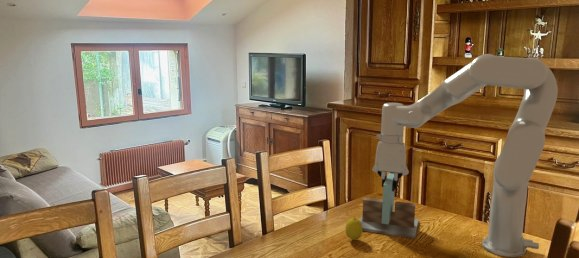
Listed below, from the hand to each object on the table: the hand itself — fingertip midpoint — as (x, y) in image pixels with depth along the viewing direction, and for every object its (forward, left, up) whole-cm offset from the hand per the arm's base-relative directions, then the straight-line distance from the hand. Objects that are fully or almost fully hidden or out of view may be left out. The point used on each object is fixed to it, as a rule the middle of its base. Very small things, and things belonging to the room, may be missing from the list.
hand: (389, 189), depth 152 cm
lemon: (+9, +16, -14) cm, 23 cm away
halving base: (0, 0, -14) cm, 14 cm away
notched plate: (0, 0, -10) cm, 10 cm away
